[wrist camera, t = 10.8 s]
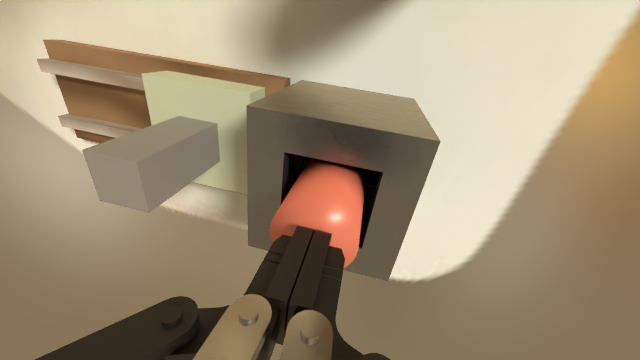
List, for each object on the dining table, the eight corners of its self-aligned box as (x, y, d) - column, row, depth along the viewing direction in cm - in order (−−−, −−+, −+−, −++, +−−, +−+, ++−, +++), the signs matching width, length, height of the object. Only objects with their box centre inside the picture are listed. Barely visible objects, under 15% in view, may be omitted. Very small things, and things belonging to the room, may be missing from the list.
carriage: (167, 70, 20) (17, 88, 12) (264, 87, 19) (176, 120, 11) (181, 163, 24) (76, 225, 16) (263, 181, 23) (196, 257, 15)
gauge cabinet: (301, 80, 21) (246, 105, 12) (414, 99, 20) (440, 141, 11) (293, 176, 25) (248, 245, 17) (385, 196, 24) (387, 280, 16)
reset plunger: (307, 143, 16) (271, 191, 11) (372, 156, 15) (367, 213, 10) (301, 197, 18) (268, 261, 12) (358, 210, 17) (349, 282, 12)
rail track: (61, 40, 24) (29, 39, 21) (290, 78, 21) (279, 82, 19) (91, 133, 28) (67, 140, 26) (283, 174, 25) (274, 186, 23)
